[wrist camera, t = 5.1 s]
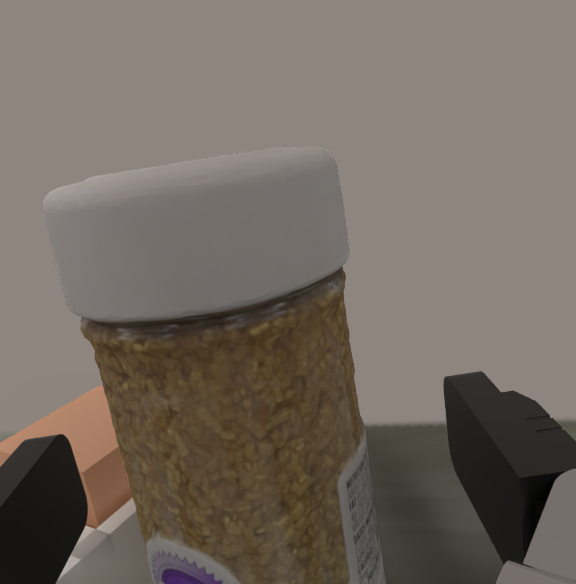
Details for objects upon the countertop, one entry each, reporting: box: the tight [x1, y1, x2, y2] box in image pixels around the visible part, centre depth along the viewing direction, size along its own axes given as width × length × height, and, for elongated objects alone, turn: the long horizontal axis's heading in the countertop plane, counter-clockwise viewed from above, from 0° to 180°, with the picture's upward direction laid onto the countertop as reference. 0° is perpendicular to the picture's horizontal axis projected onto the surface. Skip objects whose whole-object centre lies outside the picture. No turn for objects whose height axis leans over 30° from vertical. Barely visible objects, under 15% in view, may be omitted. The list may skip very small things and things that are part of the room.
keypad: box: [56, 498, 152, 584], centre depth 17 cm, size 6×13×4 cm, turn 150°
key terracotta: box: [0, 386, 133, 529], centre depth 19 cm, size 5×5×2 cm
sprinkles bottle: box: [43, 146, 386, 584], centre depth 10 cm, size 5×5×13 cm
